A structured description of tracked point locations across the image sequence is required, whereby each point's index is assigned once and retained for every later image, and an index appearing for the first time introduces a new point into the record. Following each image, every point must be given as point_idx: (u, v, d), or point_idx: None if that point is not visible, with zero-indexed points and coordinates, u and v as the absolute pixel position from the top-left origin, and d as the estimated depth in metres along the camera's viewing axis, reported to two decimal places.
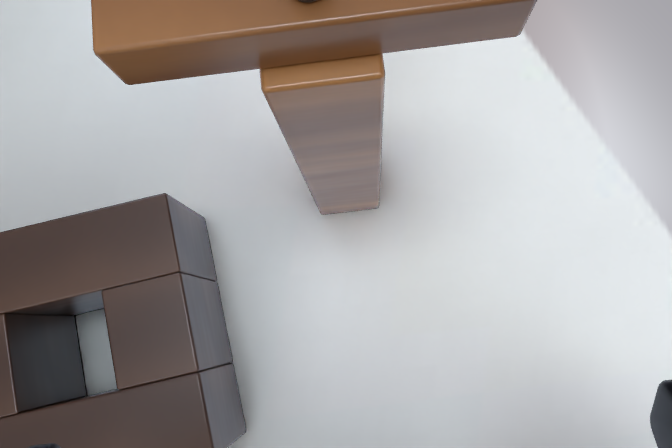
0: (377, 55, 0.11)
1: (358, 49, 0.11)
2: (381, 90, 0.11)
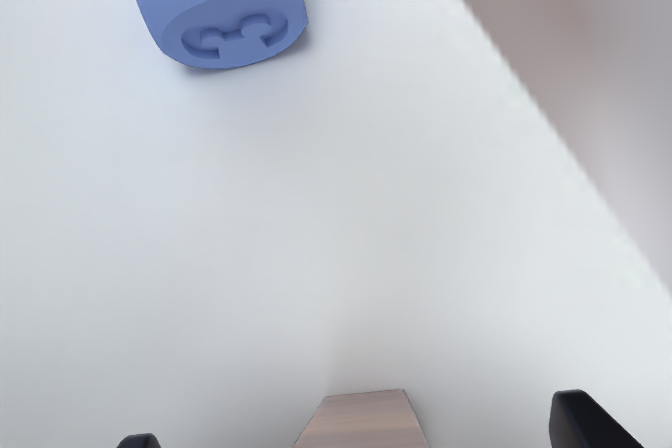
0: None
1: None
2: None
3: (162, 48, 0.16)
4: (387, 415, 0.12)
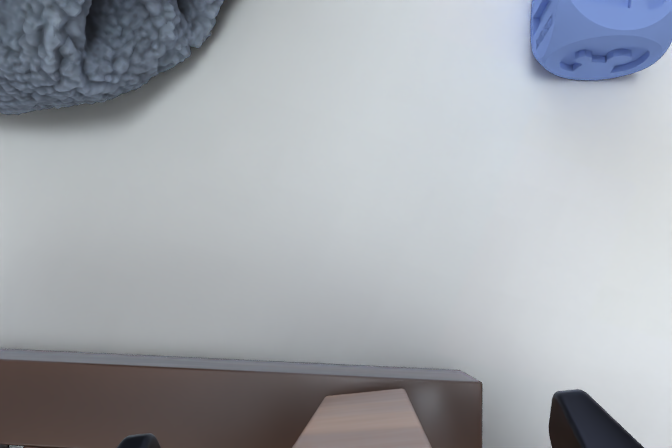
0: None
1: None
2: None
3: (548, 55, 0.22)
4: (388, 414, 0.12)
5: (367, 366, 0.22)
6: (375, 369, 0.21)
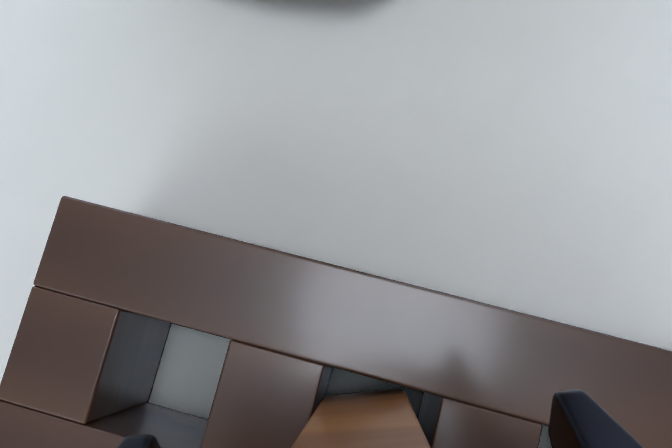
0: None
1: None
2: None
3: None
4: (387, 414, 0.12)
5: None
6: None
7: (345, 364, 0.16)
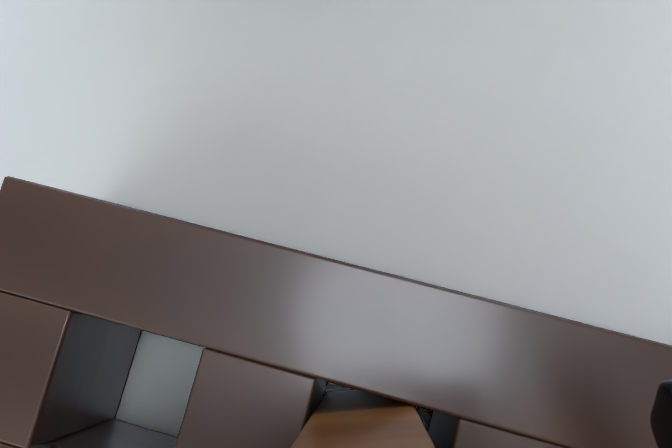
0: None
1: None
2: None
3: None
4: (388, 409, 0.13)
5: None
6: None
7: (341, 378, 0.13)
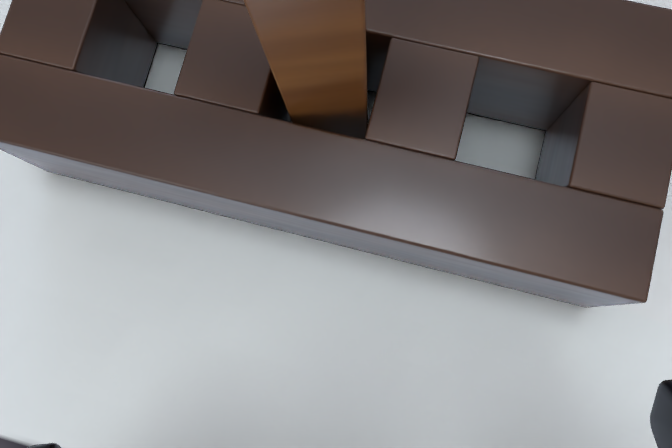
0: None
1: None
2: None
3: None
4: None
5: None
6: None
7: None
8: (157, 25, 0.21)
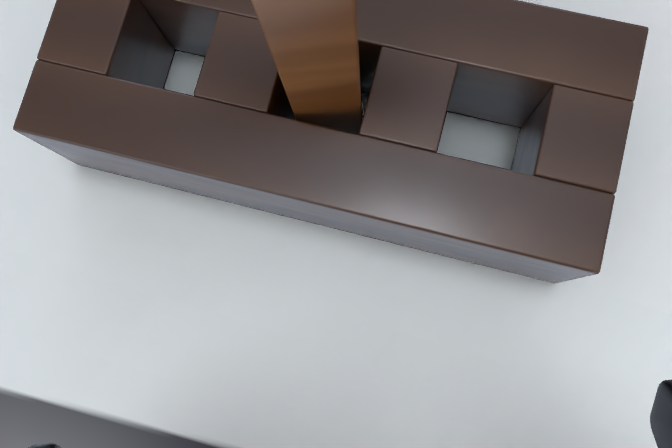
0: None
1: None
2: None
3: None
4: None
5: None
6: None
7: None
8: (176, 34, 0.23)
